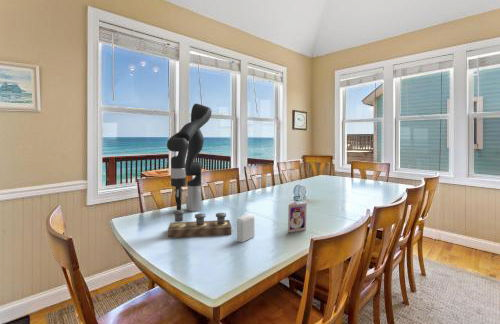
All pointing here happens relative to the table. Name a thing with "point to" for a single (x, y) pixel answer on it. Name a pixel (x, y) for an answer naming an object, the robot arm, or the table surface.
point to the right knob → (221, 218)
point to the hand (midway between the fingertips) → (179, 209)
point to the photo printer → (245, 227)
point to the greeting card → (297, 217)
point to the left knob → (178, 215)
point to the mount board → (198, 229)
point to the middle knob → (200, 219)
